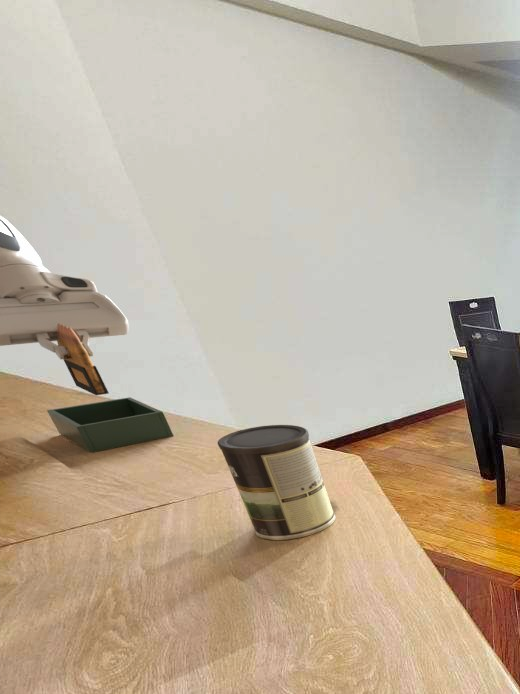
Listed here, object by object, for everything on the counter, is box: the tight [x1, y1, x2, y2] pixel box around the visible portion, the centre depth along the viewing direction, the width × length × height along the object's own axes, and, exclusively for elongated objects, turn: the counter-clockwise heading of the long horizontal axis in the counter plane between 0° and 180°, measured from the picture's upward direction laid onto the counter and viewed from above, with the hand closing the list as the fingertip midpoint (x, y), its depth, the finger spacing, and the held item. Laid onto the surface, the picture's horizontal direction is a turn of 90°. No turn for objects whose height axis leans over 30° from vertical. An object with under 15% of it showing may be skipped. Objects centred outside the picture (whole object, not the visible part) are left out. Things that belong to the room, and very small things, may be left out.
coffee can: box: [217, 424, 337, 541], centre depth 86 cm, size 10×10×14 cm
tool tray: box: [46, 396, 174, 453], centre depth 117 cm, size 13×17×5 cm
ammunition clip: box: [56, 323, 110, 396], centre depth 111 cm, size 11×2×12 cm, turn 58°
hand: (77, 355), depth 111 cm, fingers closed on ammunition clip, 2 cm apart
